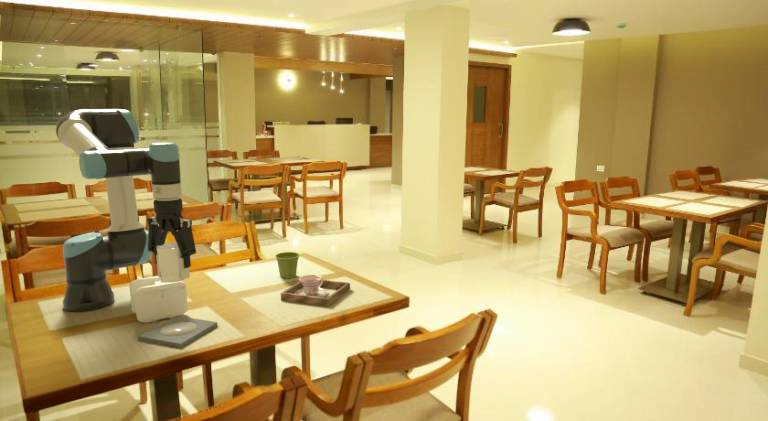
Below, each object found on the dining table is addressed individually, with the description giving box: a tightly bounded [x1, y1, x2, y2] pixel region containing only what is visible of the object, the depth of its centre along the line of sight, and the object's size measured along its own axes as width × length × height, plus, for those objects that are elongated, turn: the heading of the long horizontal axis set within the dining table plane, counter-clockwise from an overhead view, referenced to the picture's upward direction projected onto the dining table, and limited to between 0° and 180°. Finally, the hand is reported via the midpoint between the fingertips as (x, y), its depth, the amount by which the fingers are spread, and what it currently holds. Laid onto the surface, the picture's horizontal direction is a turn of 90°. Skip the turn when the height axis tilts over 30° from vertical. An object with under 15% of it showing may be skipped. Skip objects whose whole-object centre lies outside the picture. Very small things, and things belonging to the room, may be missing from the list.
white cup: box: [156, 241, 186, 283], centre depth 153 cm, size 8×8×10 cm
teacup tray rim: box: [280, 279, 351, 307], centre depth 189 cm, size 18×18×2 cm
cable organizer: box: [129, 275, 189, 323], centre depth 169 cm, size 15×11×12 cm
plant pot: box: [274, 251, 301, 280], centre depth 209 cm, size 9×9×9 cm
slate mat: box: [137, 315, 218, 349], centre depth 157 cm, size 15×16×1 cm
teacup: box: [294, 274, 329, 298], centre depth 189 cm, size 12×12×6 cm
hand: (173, 276), depth 153 cm, fingers closed on white cup, 8 cm apart
